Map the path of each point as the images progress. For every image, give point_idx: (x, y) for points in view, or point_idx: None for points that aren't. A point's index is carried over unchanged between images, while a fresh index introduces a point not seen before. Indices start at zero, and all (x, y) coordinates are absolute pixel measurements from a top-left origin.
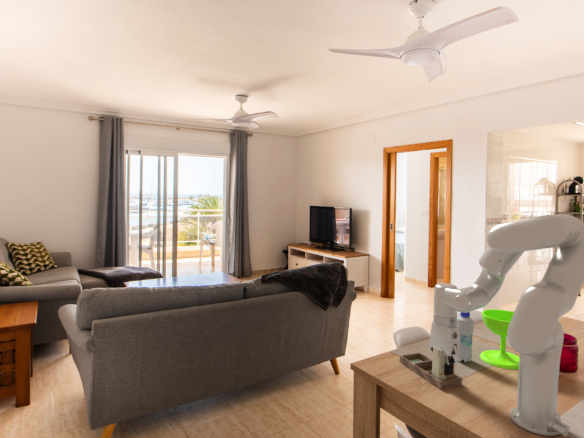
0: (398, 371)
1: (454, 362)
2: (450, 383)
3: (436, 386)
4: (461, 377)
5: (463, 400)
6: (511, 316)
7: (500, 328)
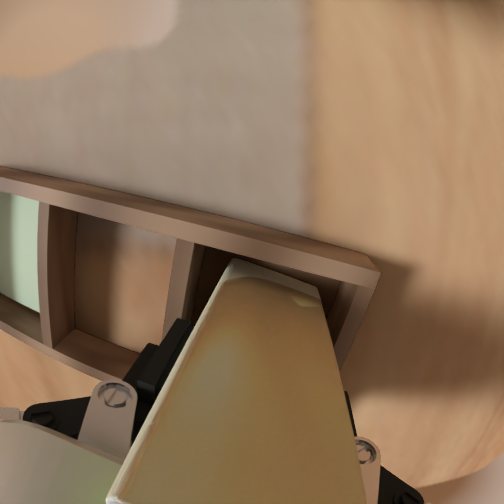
0: (66, 388)
1: (387, 483)
2: None
3: None
4: (374, 274)
5: (432, 394)
6: None
7: None
